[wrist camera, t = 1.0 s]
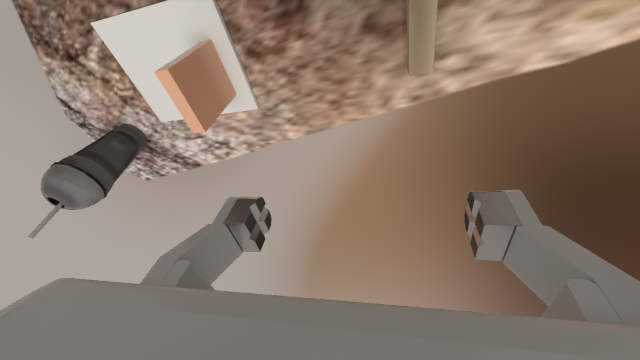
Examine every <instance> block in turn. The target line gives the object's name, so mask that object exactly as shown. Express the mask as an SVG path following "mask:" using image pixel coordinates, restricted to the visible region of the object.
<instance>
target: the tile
mask: <svg viewBox="0 0 640 360" xmlns="http://www.w3.org/2000/svg"><path fill="white" fill-rule="evenodd" d="M154 73H155V74H156V76H157V78H158V79H159V81H160V82H161V84H162V85H163V87H164V88H165V90H166V91H167V93H168V95H169V96H170V98H171V99H172V101H173V102H174V104H175V105H176V107H177V108H178V110H179V112H180V113H181V115H182V116H183V118H184V119H185V121H186V122H187V124H188V126H189V127H190V129H191V130H192V132H193V133H201V132H206V131H207V130H208V128H209V127H210V126H211V125H212V124H213V122H214V121H215V120H216V119H217V118H218V116H219V115H220V114H221V113H222V112H223V110H224V109H225V108H226V107H227V106H228V104H229V103H230V102H231V101H232V100H233V98H234V97H235V96H236V95H237V94H236V92H235V89H234V87H233V85H232V83H231V81H230V79H229V76H228V74H227V72H226V70H225V68H224V66H223V64H222V61H221V59H220V57H219V55H218V53H217V51H216V48H215V46H214V44H213V42H212V40H211V39H209V40H205V41H201V42H199V43H197V44H196V45H194V46H193V47H191V48H190V49H188V50H187V51H185V52H184V53H182V54H181V55H179V56H178V57H176V58H175V59H173V60H172V61H170V62H169V63H167V64H166V65H164V66H163V67H161V68H160V69H158V70H157V71H155V72H154Z"/></svg>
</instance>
